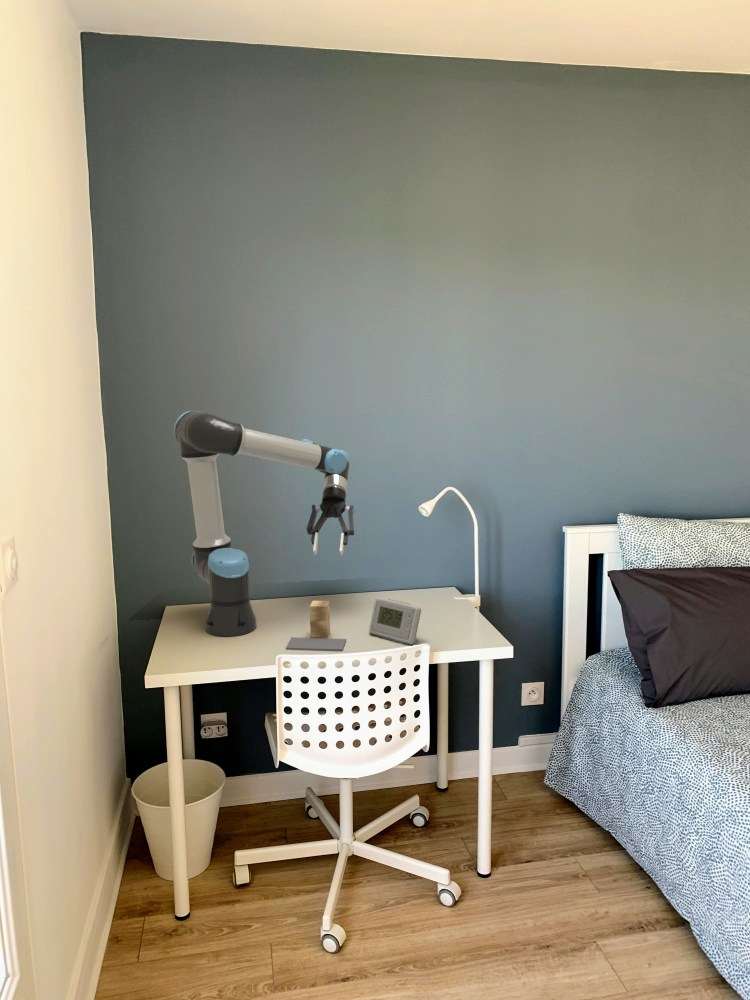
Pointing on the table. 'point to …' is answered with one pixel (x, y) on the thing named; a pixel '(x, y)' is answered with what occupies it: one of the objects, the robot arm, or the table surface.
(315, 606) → the oak block
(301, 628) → the table surface
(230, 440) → the robot arm
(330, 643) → the mat
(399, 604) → the digital clock
